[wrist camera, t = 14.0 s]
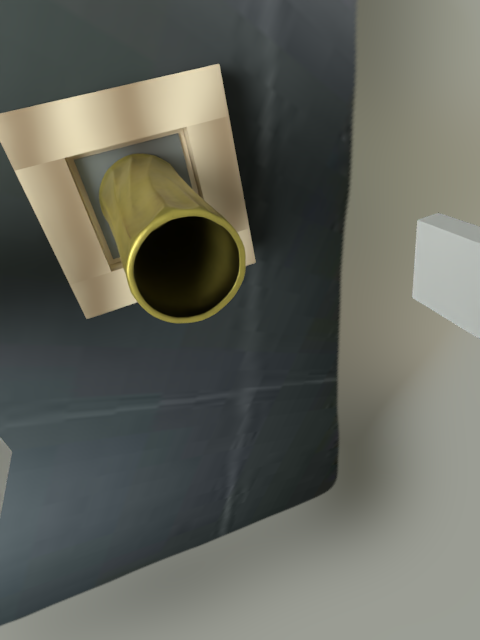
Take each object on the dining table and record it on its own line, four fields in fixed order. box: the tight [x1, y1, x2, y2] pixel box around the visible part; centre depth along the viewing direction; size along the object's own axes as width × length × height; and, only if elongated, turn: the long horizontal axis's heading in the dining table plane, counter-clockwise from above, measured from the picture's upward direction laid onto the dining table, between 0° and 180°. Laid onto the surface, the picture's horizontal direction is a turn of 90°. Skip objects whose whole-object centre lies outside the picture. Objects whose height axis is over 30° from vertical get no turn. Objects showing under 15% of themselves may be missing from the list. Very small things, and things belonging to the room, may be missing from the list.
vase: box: [99, 154, 246, 323], centre depth 23 cm, size 6×6×14 cm
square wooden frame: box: [0, 64, 256, 319], centre depth 29 cm, size 14×14×4 cm
